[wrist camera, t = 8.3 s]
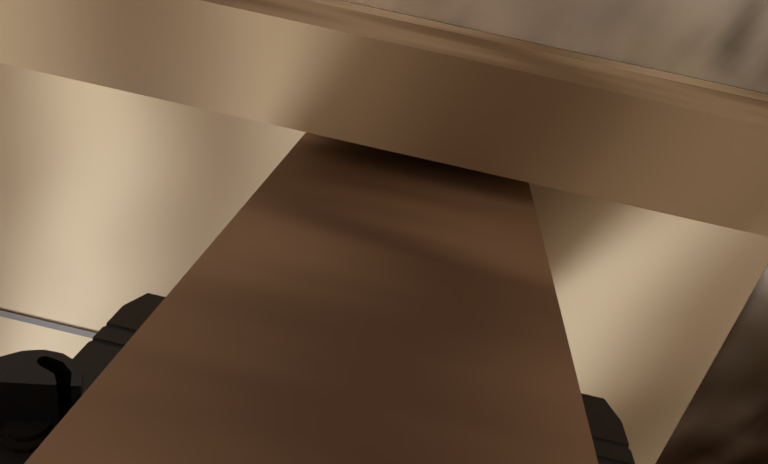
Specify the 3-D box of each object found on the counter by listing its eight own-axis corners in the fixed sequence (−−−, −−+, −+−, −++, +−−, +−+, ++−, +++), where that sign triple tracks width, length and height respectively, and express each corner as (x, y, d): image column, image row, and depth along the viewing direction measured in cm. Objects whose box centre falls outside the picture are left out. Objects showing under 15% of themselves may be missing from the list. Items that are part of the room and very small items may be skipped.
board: (-219, 301, 21) (-365, 378, 18) (-367, -155, 15) (-645, -187, 11) (609, 501, 20) (640, 626, 17) (820, 105, 14) (947, 164, 10)
